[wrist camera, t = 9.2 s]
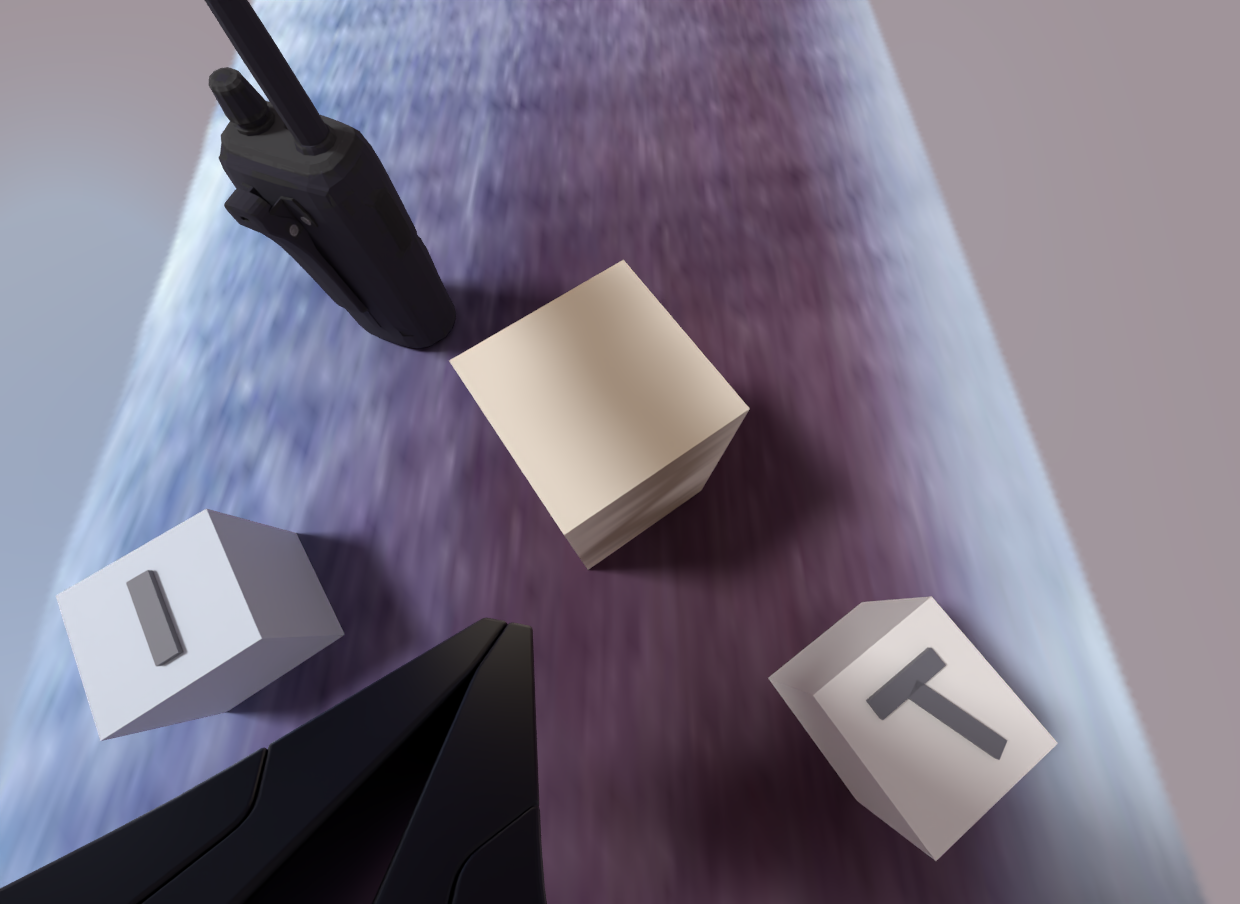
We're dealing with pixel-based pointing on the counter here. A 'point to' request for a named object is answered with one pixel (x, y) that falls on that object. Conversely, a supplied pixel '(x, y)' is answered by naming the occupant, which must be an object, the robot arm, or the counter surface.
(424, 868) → the robot arm
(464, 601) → the counter surface
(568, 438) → the birch block
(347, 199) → the two-way radio
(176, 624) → the white letter cube
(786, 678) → the white letter block
